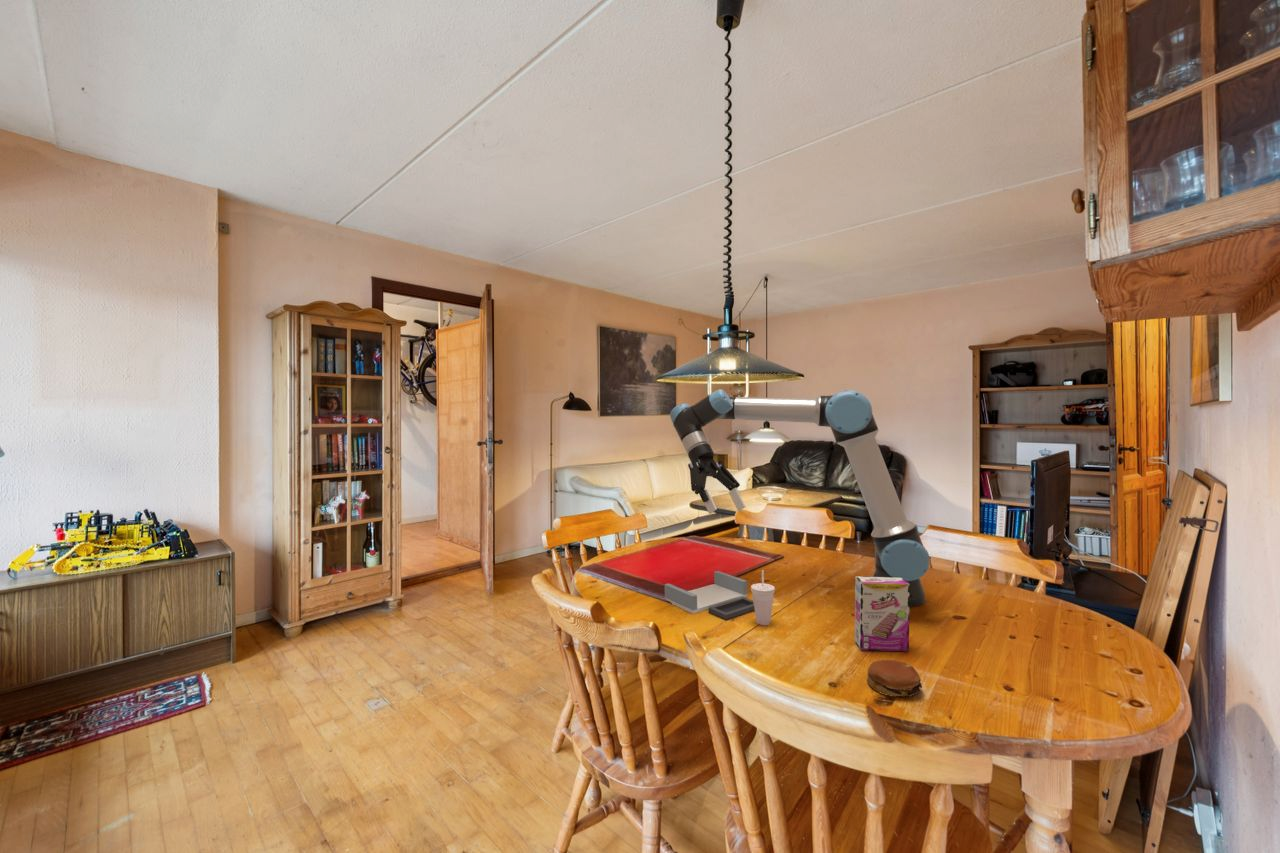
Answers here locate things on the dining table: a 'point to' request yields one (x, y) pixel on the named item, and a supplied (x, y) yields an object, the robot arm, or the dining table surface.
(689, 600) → the walled channel
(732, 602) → the tray
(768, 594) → the smoothie
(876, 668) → the burger
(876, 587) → the candy bar box
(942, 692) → the dining table surface
